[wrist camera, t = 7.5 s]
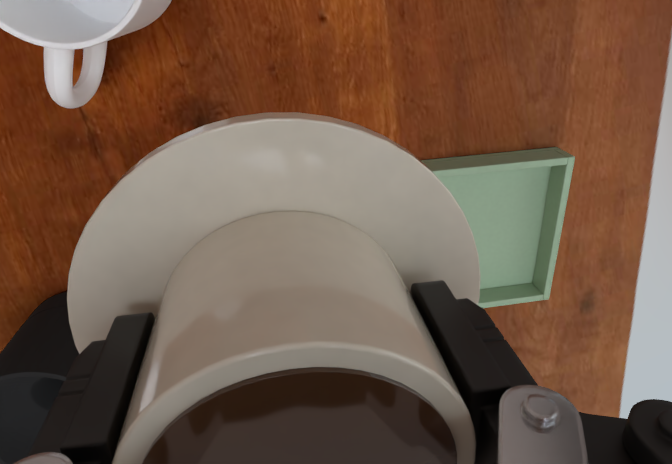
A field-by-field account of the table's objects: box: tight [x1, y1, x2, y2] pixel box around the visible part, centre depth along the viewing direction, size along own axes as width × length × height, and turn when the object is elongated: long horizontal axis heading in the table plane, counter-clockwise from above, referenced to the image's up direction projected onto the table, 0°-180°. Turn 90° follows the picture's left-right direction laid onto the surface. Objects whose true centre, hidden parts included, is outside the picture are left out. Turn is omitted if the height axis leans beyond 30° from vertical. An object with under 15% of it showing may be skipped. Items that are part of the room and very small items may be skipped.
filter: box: [67, 112, 481, 464], centre depth 10 cm, size 10×10×5 cm
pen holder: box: [0, 292, 79, 464], centre depth 36 cm, size 9×9×10 cm
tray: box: [420, 147, 575, 308], centre depth 40 cm, size 17×13×3 cm
